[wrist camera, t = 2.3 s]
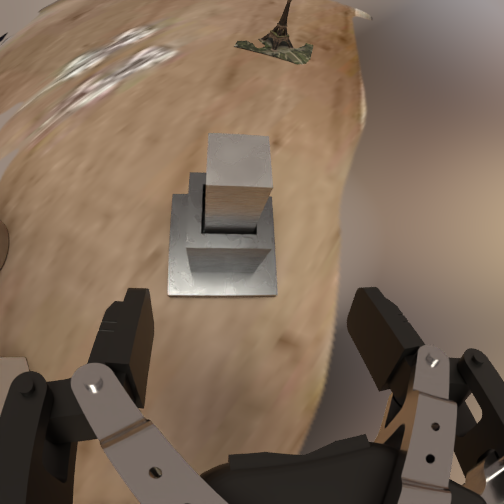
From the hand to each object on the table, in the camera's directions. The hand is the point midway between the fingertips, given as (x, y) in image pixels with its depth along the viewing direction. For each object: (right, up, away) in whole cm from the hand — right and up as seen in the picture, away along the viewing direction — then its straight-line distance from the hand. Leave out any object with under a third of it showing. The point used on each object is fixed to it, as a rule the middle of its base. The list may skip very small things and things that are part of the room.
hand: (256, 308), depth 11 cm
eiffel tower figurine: (+4, +43, +38) cm, 58 cm away
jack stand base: (-4, +3, +24) cm, 24 cm away
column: (-3, +3, +22) cm, 23 cm away
